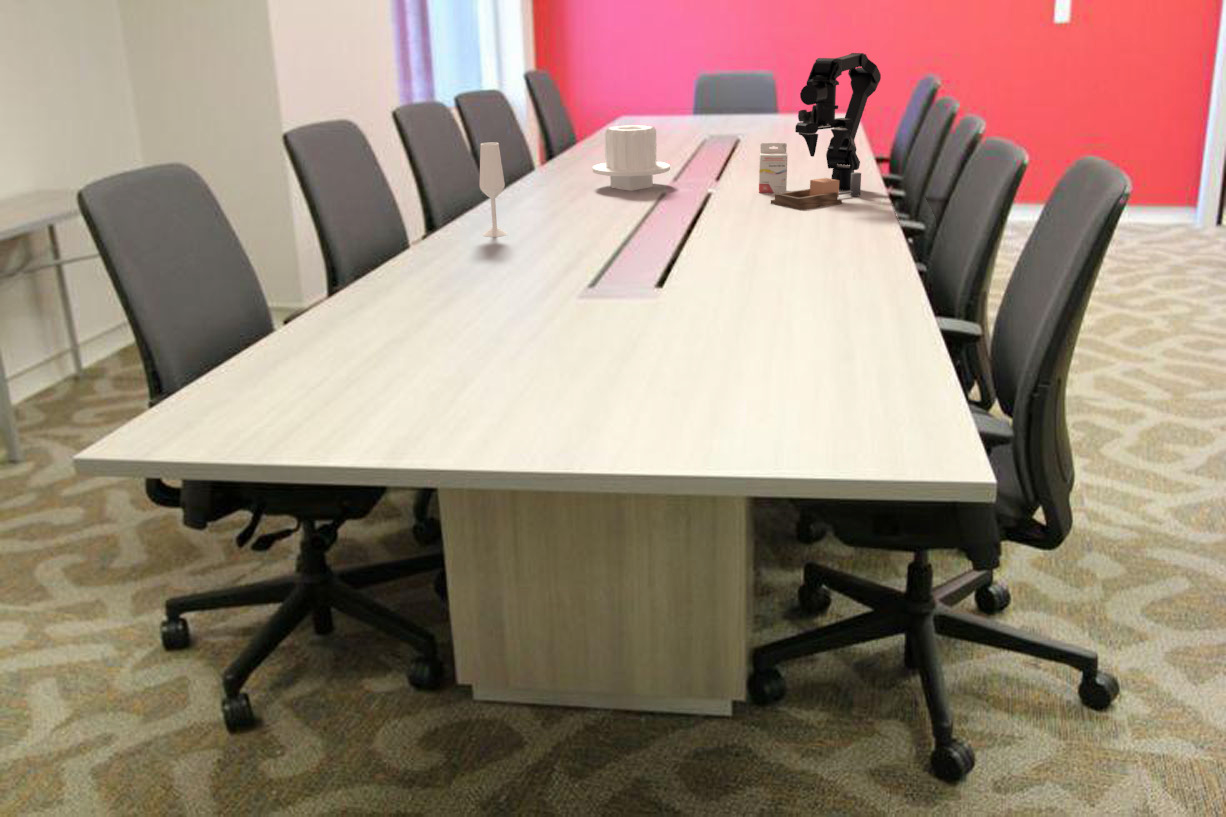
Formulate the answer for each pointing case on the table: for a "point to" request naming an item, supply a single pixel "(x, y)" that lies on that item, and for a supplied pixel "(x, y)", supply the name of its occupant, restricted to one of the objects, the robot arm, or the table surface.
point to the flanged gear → (631, 157)
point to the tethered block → (835, 186)
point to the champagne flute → (491, 180)
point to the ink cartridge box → (773, 168)
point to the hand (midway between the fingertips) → (823, 154)
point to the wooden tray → (805, 199)
